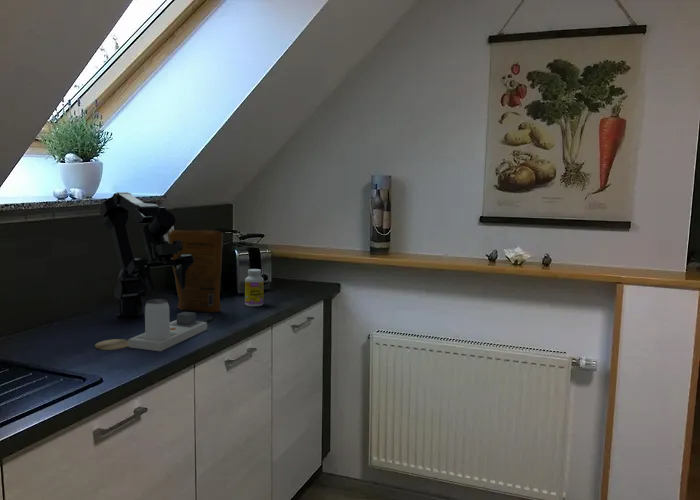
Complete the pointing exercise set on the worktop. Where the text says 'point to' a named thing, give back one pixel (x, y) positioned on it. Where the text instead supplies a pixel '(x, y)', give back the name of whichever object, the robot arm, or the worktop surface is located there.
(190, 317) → the block
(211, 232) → the pancake mix bag
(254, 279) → the supplement bottle
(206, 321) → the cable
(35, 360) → the worktop surface
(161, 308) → the can
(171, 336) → the strip dock
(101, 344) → the cork coaster
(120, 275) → the robot arm
